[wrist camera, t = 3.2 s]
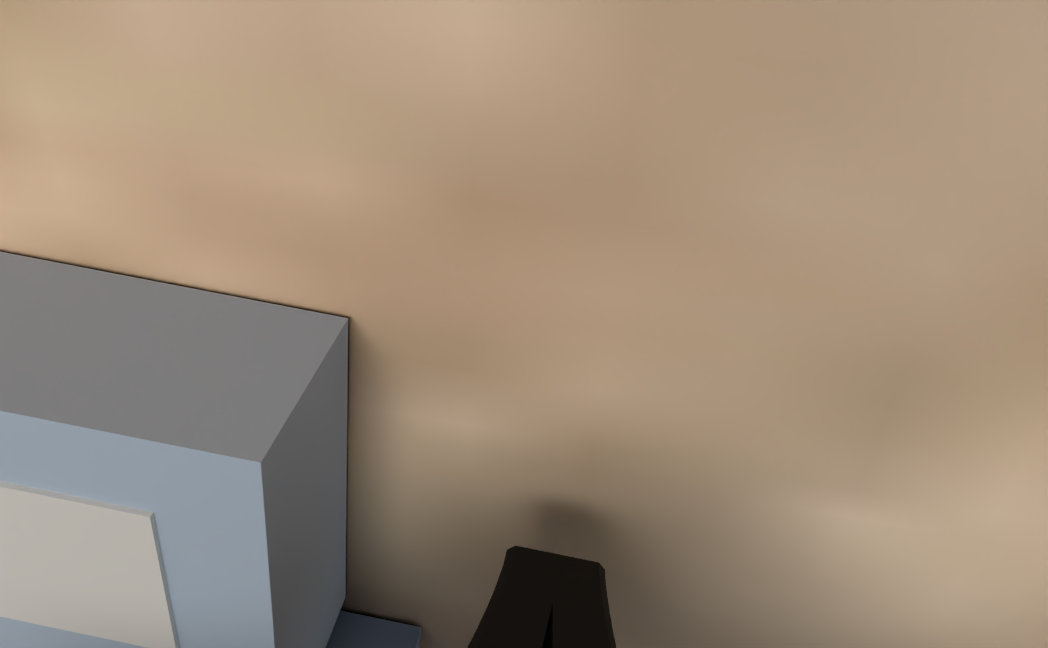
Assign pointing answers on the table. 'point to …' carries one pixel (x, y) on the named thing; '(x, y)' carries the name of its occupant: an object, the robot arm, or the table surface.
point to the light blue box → (167, 464)
